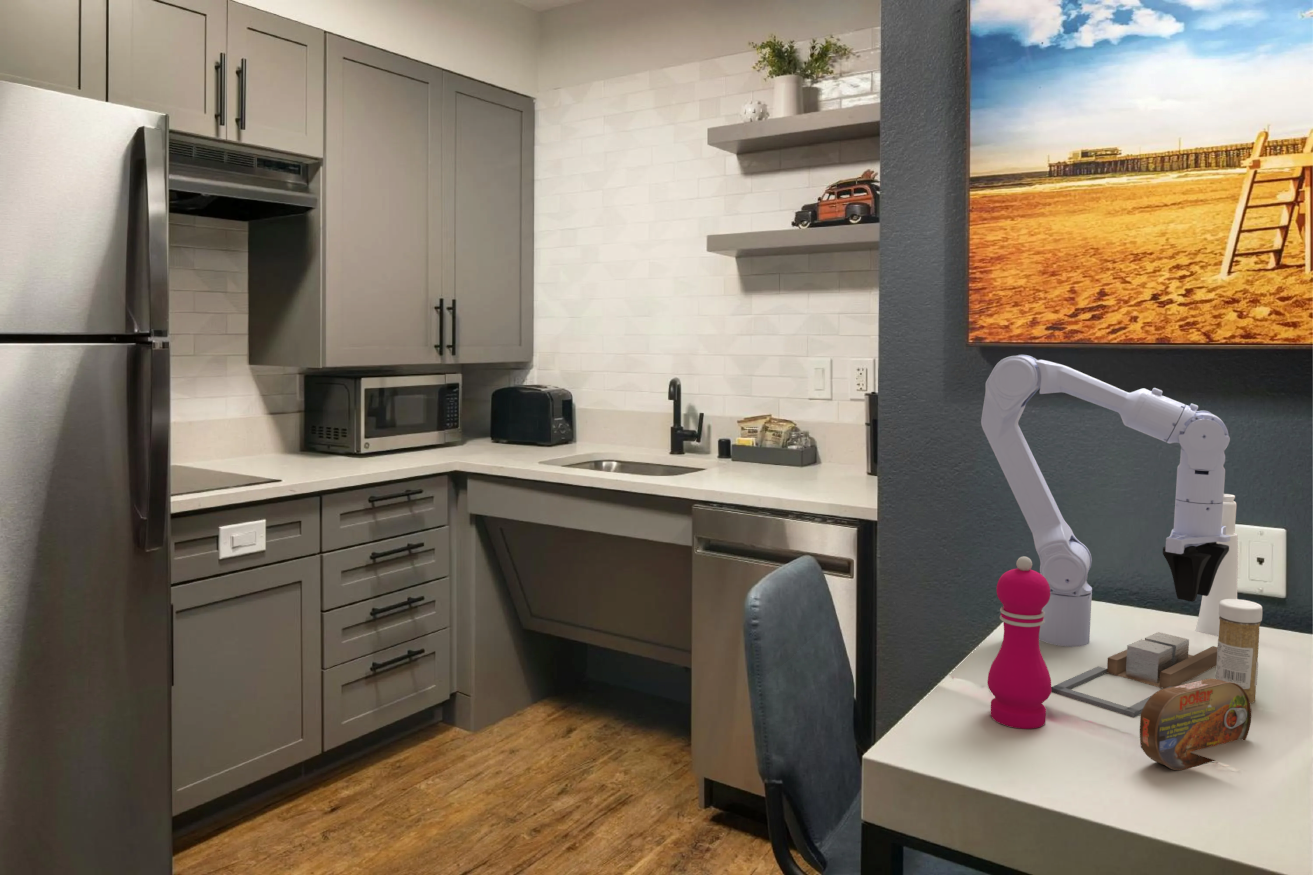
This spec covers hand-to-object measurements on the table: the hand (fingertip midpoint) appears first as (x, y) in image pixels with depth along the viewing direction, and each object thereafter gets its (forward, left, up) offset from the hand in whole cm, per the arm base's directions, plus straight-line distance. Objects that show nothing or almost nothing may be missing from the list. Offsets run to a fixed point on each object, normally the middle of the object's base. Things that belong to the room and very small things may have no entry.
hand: (1192, 596), depth 132 cm
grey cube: (0, -8, -8) cm, 11 cm away
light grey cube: (0, -13, -8) cm, 15 cm away
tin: (+13, -30, -10) cm, 34 cm away
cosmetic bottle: (-3, +17, -10) cm, 20 cm away
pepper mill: (-5, -36, -10) cm, 37 cm away
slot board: (0, -8, -10) cm, 12 cm away
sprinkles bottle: (+10, -12, -10) cm, 18 cm away
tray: (0, -22, -10) cm, 24 cm away
